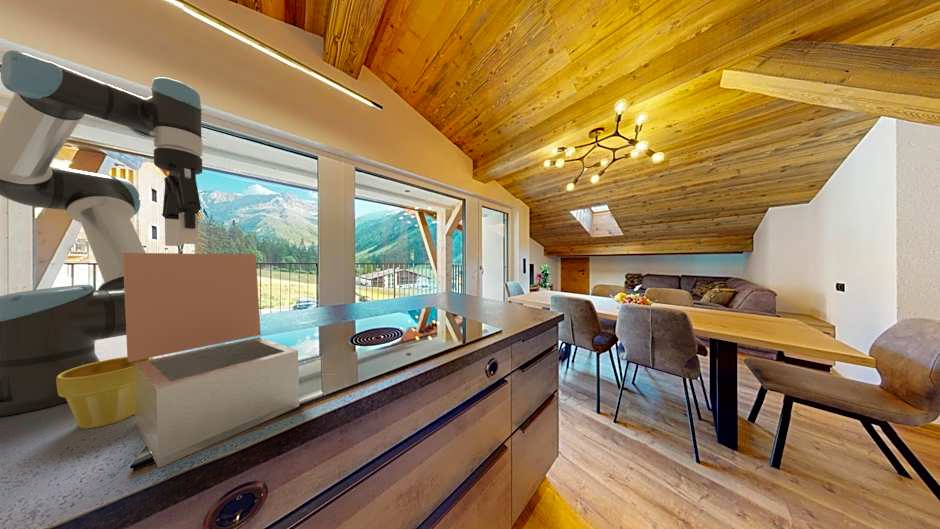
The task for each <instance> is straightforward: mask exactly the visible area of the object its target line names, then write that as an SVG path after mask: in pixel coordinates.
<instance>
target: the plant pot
mask: <svg viewBox="0 0 940 529" xmlns="http://www.w3.org/2000/svg"><path fill="white" fill-rule="evenodd" d="M152 359H154V357H150V358H146V359H141V360H136V361H131V362H128V361H127V356H122V357H117V358H115V357H114V358H110V359H103V360H100V361H99V362H95V363H90V364H86V365H83V366H79V367H76V368H73V369H70V370H67V371H65V372H63V373H61V374H59V375H58V376H57V378H56V383H57V392H58V395H59V396H60V397H65V398H66V400H67V402H66V403H67V404H68V406H69V409H70V410H71V413H72V415H73V416H74V419H75V420H76V423H77V426H78V427H79V428H80V429H86V430H87V429H88V428H89V429H94V428H95V427H96V428H101V427H104V426H108V425H111V424H113V423H116V422H120V421H122V420H123V421H124V420H125V419H128V418H130V417H131V416H134V415H135V387H134V363H138V362H142V361H147V360H152ZM96 428H95V429H96Z"/></svg>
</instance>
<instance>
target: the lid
mask: <svg viewBox="0 0 940 529" xmlns="http://www.w3.org/2000/svg"><path fill="white" fill-rule="evenodd" d="M257 266H258V265H257V254H256V253H255V254H254V253H253V254H251V253H250V254H249V253H247V254H246V253H242V254H241V253H236V254H234V253H174V252H173V253H172V252H170V253H169V252H166V253H165V252H164V253H161V252H157V253H156V252H145V253H123V269H124V292H125V315H126V335H125V336H126V357H127V361H128V362H131V361H136V360H141V359H146V358H150V357H153V358H154V357H158V356H165V355H169V354H174V353H178V352H179V353H180V352H184V351H189V350H194V349H198V348H200V349H201V348H203V347H210V346H213V345H218V344H223V343H224V344H225V343H227V342H233V341H238V340H239V341H240V340H245V339H247V338H249V339H250V338H253V337H254V338H255V337H257V336H258V337H259V336H261V319H260V303H259V302H260V300H259V287H258V286H259V285H258V284H259V283H258V269H257V268H258V267H257Z"/></svg>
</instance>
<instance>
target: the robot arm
mask: <svg viewBox="0 0 940 529" xmlns="http://www.w3.org/2000/svg"><path fill="white" fill-rule="evenodd" d="M0 78H1V82H2V85H3V87H4V88H5V89H7V90H8V91H9V92H12V93H13V96H12V98H11V100H10V102H9V103H8V105H7V108H6V110H5V112H4V114H3V116H2V118H1V120H0V196H1V197H3V198H5V199H7V200H10V201H13V202H15V203H18V204H21V205H25V206H30V207H33V208H35V207H36V208H41V209H52V210H53V209H54V210H60V211H66V213H67V215H68V216H69V217H70V218H71V219H72V220H74V221H75V222H77V223H81V226H82V228H83V232H84V233H85V236H86V239H87V242H88V244H89V247H90V249H91V251H92V255H93V256H94V259H95V262H96V264H97V266H98V270H99V272H100V275H101V277H102V279H103V282H102V283H101V284H100V285H99V286H98V288H97V290H95V288H94V287H93V285H91V284H77V285H68V286H66V285H65V286H58V287H57V286H55V287H48V288H46V287H45V288H40V289H33V290H32V289H31V290H25V291H17V292H12V293H7V294H3V295H0V417H6V416H13V415H17V414H22V413H27V412H32V411H33V412H34V411H38V410H42V409H45V408H49V407H53V406H56V405H61V404H65V403H68V402H67V400H66V398H65V397H60V396H59V395H58V392H57V383H56V378H57V376H58V375H59V374H61V373H63V372H65V371H67V370H70V369H73V368H76V367H79V366H83V365H86V364H90V363H95V362H99V361H101V360H100V359H99V357H98V356H97V354H96V351H95V349H96V348H95V345H96V341H99V340H104V339H111V338H117V337H123V336H126V315H125V292H124V269H123V253H146V251H145V249H144V246H143V244H142V242H141V240H140V237H139V235H138V232H137V231H136V230H137V229H136V228H135V227H134V224H133V222H132V220H131V219H132V218H134V216H136V215H137V214H138V212H139V210H140V207H141V200H140V194H139V191H138V189H137V188H136V186H135V185H134V184H133V183H132V182H131V181H129V180H127V179H125V178H122V177H121V178H120V177H118V176H113V175H111V174H110V175H109V174H104V173H102V174H101V173H96V172H90V171H84V170H79V169H74V168H69V167H64V166H58V165H51V164H52V163H53V162H54V160H55V159H56V157H57V156H58V154H59V153H60V151H61V150H62V148H63V147H64V145H65V144H66V142H67V141H68V140H69V138H70V137H71V135H72V133H73V132H74V131H75V129H76V127H77V126H78V125H79V124H80V122H81V120H82V119H83V118H84V116H85V115H86V116H91V117H94V118H97V119H100V120H104V121H108V122H110V123H114V124H117V125H120V126H123V127H127V128H129V130H131V131H132V132H134V133H135V134H136V135H139V136H140V137H144V138H149V139H153V146H154V147H155V149H153V164H154V166H155V167H157V168H159V169H161V170H164V171H165V170H166V171H167V172H169V173H168V175H167V176H165V177H164V178H163V180H164V193H163V195H164V196H163V206H162V213H161V216H162V217H163V218H164V245H165V247H166V246H168V247H169V246H170V247H171V246H172V247H183V244H184V245H199V224H198V223H199V221H198V220H199V218H198V217H199V216H198V215H199V213H200V212H199V211H201V209H202V206H201V201H200V195H199V190H198V184H197V178H196V177H197V176H196V175H200V174H202V173H203V158H201V157H203V138H202V110H203V108H202V104H201V96H200V93H198V91H197V90H195V88H193V87H191V86H190V85H188V84H185V83H183V82H181V81H179V80H176V79H174V78H173V79H172V78H169V77H161V76H160V77H159V76H158V77H155V78H153V79H152V84H151V88H150V90H151V93H152V94H151V96H149V97H146V98H145V97H143V96H139V95H137V94H134V93H132V92H129V91H126V90H124V89H122V88H119V87H116V86H113V85H111V84H108V83H105V82H102V81H100V80H99V79H98V80H97V79H95V78H92V77H89V76H88V75H85V74H81V73H80V72H77V71H74V70H71V69H69V68H66V67H65V66H61V65H59V64H56V63H55V62H52V61H49V60H46V59H43V58H39V57H37V56H33V55H31V54H28V53H24V52H22V51H19V50H8V51H6V52H5V53H4V54H3V56H2V58H1V65H0Z"/></svg>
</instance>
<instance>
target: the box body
mask: <svg viewBox="0 0 940 529" xmlns="http://www.w3.org/2000/svg"><path fill="white" fill-rule="evenodd" d="M299 371H300V370H299V350H298V349H295V348H292V347H289V346H286V345H284V344H283V345H282V344H280V343H278V342H274V341H272V340H268V339H266V338H263V337H259V336H258V337H257V336H256V337H254V338H253V337H252V338H249V339H242V340H239V341H238V340H237V341H235V342H233V341H232V342H230V343H224V344H220V345H215V346H211V347H210V346H208V347H206V348H200V349H196V350H191V351H186V352H181V353H177V354H172V355H167V356H163V357H158V358H153V359H152V360H147V361H142V362H138V363H134V387H135V414H134V415H135V416H134V417H135V427H136V430H137V431H138V432H139V435H140V436H141V438H142V440H143V442H144V444H145V446H146V447H148V448H147V449H148V451H149V450H150V451H151V452H152V455H153V457H152V459H153V460H154V462H155V464H156V465H157V468H158V469H159V468H162V467H164V466H166V465H168V464H171V463H173V462H176V461H178V460H180V459H183V458H185V457H187V456H189V455H192V454H193V453H196V452H198V451H201V450H203V449H205V448H208V447H209V446H213V445H215V444H216V443H219V442H221V441H224V440H226V439H228V438H230V437H233V436H234V435H237V434H240V433H241V432H243V431H247V430H249V429H250V428H253V427H255V426H257V425H261V423H264V422H266V421H269V420H271V419H274V418H276V417H278V416H281V415H283V414H285V413H287V412H291V411H292V410H294V409H296V408H298V407H300V384H299V383H300V381H299V378H300V377H299V376H300V375H299ZM150 451H149V452H150ZM152 455H151V456H152Z"/></svg>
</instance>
